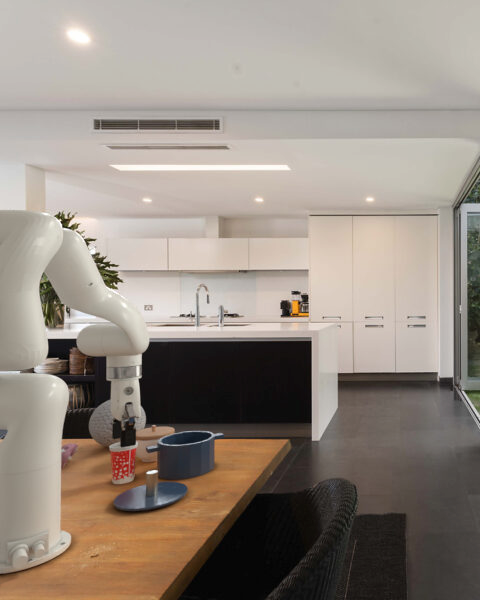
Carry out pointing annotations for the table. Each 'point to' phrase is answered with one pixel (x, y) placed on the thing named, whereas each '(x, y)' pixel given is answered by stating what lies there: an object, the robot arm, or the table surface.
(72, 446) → the video game controller
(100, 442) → the decorative ball
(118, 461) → the beverage cup
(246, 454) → the table surface
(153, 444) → the trinket box
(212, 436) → the pot
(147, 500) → the lid
